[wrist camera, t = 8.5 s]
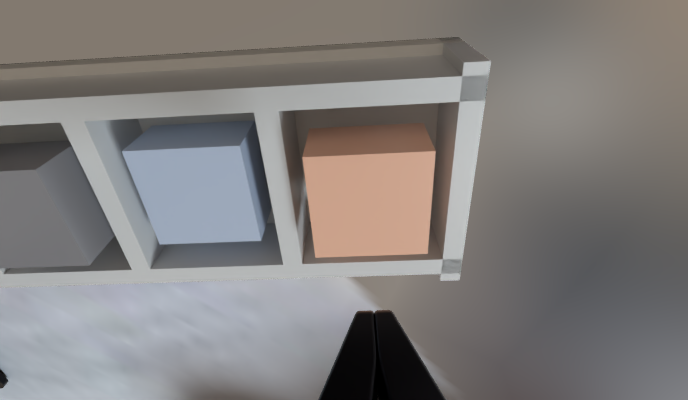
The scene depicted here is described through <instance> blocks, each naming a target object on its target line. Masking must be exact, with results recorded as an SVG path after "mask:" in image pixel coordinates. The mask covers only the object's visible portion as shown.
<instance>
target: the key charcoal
mask: <svg viewBox="0 0 688 400" xmlns="http://www.w3.org/2000/svg"><path fill="white" fill-rule="evenodd" d="M114 236H115V234H114V232H113V230H112V228H111V226H110V223H109V221H108V219H107V217H106V215H105V213H104V211H103V209H102V207H101V205H100V203H99V201H98V199H97V197H96V195H95V193H94V190H93V188H92V186H91V184H90V182H89V180H88V178H87V176H86V174H85V172H84V170H83V168H82V166H81V164H80V162H79V159H78V157H77V155H76V153H75V151H74V149H73V147H72V145H71V143H70V141H69V140H68V141H48V142H28V143H8V144H0V269H2V268H31V267H60V266H89V265H90V264H91V263H92V262H93V261H94V260H95V258H96V257H97V256H98V255H99V254H100V252H101V251H102V250H103V249H104V248H105V247H106V245H107V244H108V243H109V242H110V241H111V239H112V238H113V237H114Z"/></svg>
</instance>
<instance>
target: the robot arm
mask: <svg viewBox="0 0 688 400" xmlns="http://www.w3.org/2000/svg"><path fill="white" fill-rule="evenodd" d="M7 382H8V380H7V379H6V377H5V376H4V375H3V374H2V373H1V372H0V388H3V387H4V386H5V385H6V384H7ZM319 400H446V399H445V398H444V396H443V394H442V393H441V391H440V389H439V388H438V386H437V384H436V383H435V381H434V379H433V378H432V376H431V375H430V373H429V371H428V370H427V368H426V366H425V365H424V363H423V361H422V360H421V358H420V356H419V355H418V353H417V351H416V350H415V348H414V346H413V345H412V343H411V342H410V340H409V338H408V337H407V335H406V333H405V332H404V330H403V328H402V327H401V325H400V323H399V322H398V320H397V318H396V317H395V315H394V314H393V312H392V311H390V310H377V311H375V313H374V312H373V311H358V312H357V313H356V314H355V316H354V318H353V321H352V323H351V325H350V328H349V330H348V332H347V335H346V337H345V339H344V342H343V344H342V346H341V349H340V351H339V353H338V355H337V358H336V360H335V362H334V365H333V367H332V369H331V372H330V374H329V376H328V379H327V381H326V383H325V386H324V388H323V390H322V393H321V395H320V397H319Z"/></svg>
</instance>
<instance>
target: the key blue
mask: <svg viewBox="0 0 688 400" xmlns="http://www.w3.org/2000/svg"><path fill="white" fill-rule="evenodd" d="M122 154H123V156H124V158H125V161H126V163H127V166H128V168H129V171H130V173H131V175H132V178H133V180H134V183H135V185H136V188H137V190H138V192H139V195H140V197H141V200H142V202H143V205H144V207H145V209H146V212H147V214H148V217H149V219H150V222H151V224H152V226H153V229H154V231H155V234H156V236H157V239H158V241H159V244H160V245H161V244H189V243H216V242H243V241H261V240H262V237H263V233H264V230H265V227H266V224H267V221H268V218H269V214H270V211H271V208H272V207H271V202H270V197H269V192H268V187H267V182H266V176H265V171H264V166H263V161H262V156H261V151H260V146H259V140H258V135H257V130H256V125H255V120H254V121H234V122H214V123H195V124H175V125H156V126H151V127H150V128H149V129H147V130H146V131H145V132H144V133H143V134H141V135H140V136H139V137H138V138H137V139H136V140H134V141H133V142H132V143H131V144H130V145H129V146H127V147H126V148H125V149H124V150H123V151H122Z"/></svg>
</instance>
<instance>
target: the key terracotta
mask: <svg viewBox="0 0 688 400" xmlns="http://www.w3.org/2000/svg"><path fill="white" fill-rule="evenodd" d="M435 154H436V151H435V148H434V146H433V144H432V141H431V139H430V137H429V134H428V132H427V130H426V128H425V125H424V123H410V124H390V125H370V126H350V127H330V128H310V129H309V132H308V136H307V140H306V144H305V148H304V152H303V157H302V159H303V167H304V174H305V182H306V189H307V197H308V205H309V212H310V220H311V228H312V235H313V243H314V251H315V258H322V257H351V256H380V255H409V254H428V244H429V231H430V218H431V205H432V193H433V180H434V167H435Z"/></svg>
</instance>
